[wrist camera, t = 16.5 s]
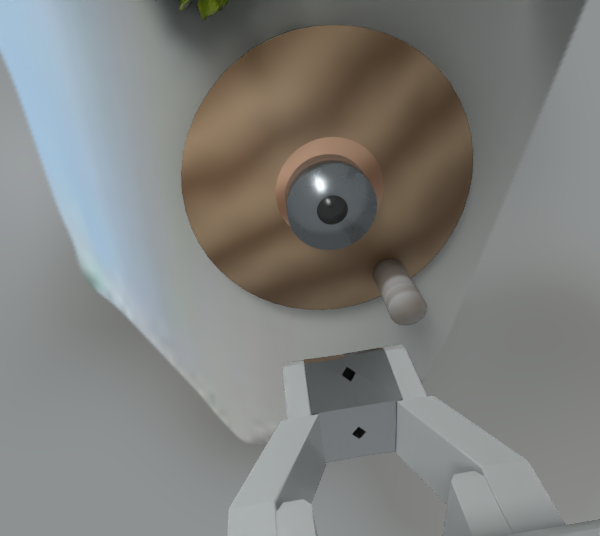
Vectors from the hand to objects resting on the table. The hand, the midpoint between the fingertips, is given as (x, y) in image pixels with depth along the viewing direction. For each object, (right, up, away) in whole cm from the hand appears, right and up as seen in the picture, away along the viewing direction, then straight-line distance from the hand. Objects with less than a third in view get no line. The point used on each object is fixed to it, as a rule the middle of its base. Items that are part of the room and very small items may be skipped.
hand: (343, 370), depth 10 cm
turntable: (+1, +10, +26) cm, 28 cm away
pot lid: (+1, +9, +24) cm, 26 cm away
